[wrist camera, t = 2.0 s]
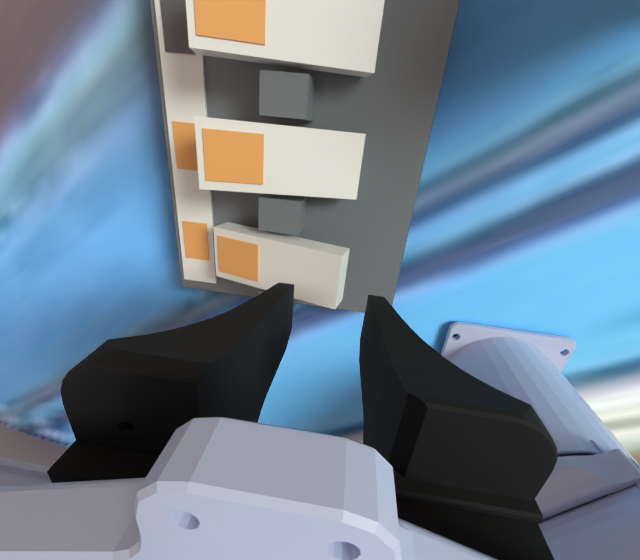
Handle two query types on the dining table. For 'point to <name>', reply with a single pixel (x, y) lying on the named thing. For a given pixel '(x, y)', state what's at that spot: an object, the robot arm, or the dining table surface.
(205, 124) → the rocker middle
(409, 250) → the dining table surface
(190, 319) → the dining table surface
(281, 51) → the rocker
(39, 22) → the dining table surface
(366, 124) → the switch unit
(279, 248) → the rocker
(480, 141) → the dining table surface
